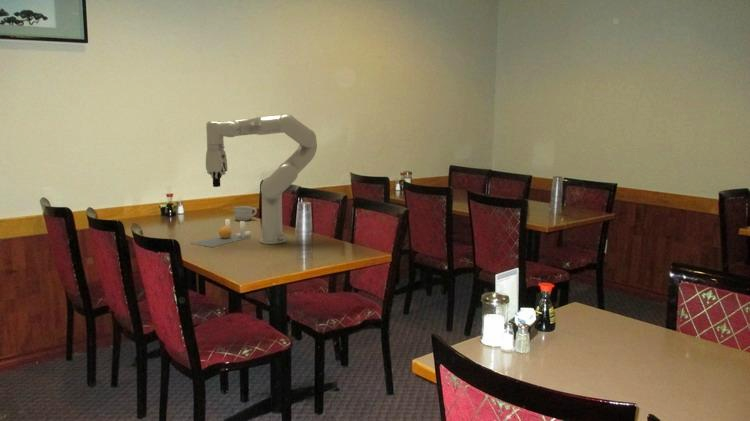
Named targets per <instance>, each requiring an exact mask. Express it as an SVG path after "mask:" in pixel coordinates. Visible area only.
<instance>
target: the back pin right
mask: <svg viewBox="0 0 750 421" xmlns="http://www.w3.org/2000/svg"><path fill="white" fill-rule="evenodd" d="M224 220H225V222H224V224H225V225H224V227H229V228H230V229H231V219H230V218H226V219H224Z"/></svg>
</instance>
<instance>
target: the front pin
mask: <svg viewBox="0 0 750 421" xmlns="http://www.w3.org/2000/svg"><path fill="white" fill-rule="evenodd" d="M251 234H252V232H251V231H250V230H247V231H246V230H245V236H246V237H250V236H251ZM235 235H236V238H240V232H238V233H236V234H235Z"/></svg>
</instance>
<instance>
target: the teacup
mask: <svg viewBox="0 0 750 421" xmlns="http://www.w3.org/2000/svg"><path fill="white" fill-rule="evenodd" d="M253 210H254V213H253ZM257 210H258V209H257V208H256V207H253V206H249V205H247V206H246V205H241V206H234V207H233V216H234V218H235V219H236V221H239V222H240V221H245V222H246V221H250V220H251V219H252V218H253V217H254V216H256V215H257V213H258V211H257Z"/></svg>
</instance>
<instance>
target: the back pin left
mask: <svg viewBox="0 0 750 421" xmlns="http://www.w3.org/2000/svg"><path fill="white" fill-rule="evenodd" d="M245 232H246V221H239V233H240V238H245Z"/></svg>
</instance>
